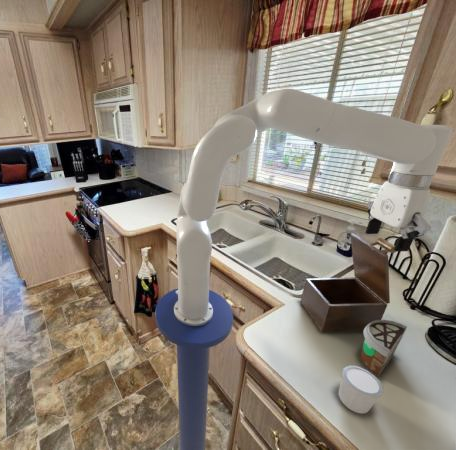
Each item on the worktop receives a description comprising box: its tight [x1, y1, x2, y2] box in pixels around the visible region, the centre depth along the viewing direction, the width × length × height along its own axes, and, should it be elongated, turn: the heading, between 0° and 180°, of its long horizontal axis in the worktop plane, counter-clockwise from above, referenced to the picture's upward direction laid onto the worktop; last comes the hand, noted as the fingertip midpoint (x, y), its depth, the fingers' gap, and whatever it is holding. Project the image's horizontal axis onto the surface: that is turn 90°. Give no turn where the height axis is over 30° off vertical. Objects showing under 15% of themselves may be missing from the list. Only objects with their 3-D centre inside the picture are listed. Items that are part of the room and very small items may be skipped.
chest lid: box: [350, 232, 398, 305], centre depth 70 cm, size 16×13×6 cm
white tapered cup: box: [338, 365, 384, 415], centre depth 54 cm, size 7×7×7 cm
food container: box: [360, 319, 408, 377], centre depth 63 cm, size 12×6×10 cm, turn 123°
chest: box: [299, 276, 388, 333], centre depth 76 cm, size 16×13×10 cm
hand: (385, 241), depth 67 cm, fingers open, 9 cm apart
